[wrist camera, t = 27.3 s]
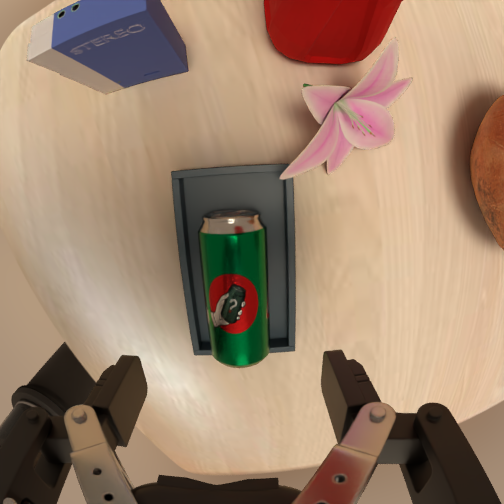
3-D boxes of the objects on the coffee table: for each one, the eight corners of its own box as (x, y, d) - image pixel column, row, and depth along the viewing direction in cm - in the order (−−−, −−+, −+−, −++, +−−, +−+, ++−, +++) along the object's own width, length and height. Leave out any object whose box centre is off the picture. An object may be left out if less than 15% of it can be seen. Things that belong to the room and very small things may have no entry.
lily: (249, 174, 25) (307, 232, 18) (235, 36, 18) (305, 26, 11) (359, 152, 28) (431, 194, 21) (362, 38, 21) (448, 50, 14)
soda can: (282, 357, 25) (280, 212, 21) (229, 379, 22) (215, 222, 19) (250, 333, 29) (243, 206, 25) (202, 349, 26) (186, 214, 23)
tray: (292, 339, 29) (295, 351, 27) (197, 343, 29) (194, 355, 27) (289, 163, 24) (292, 163, 22) (177, 171, 24) (170, 171, 22)
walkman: (185, 44, 21) (143, -29, 10) (188, 71, 22) (144, 7, 10) (103, 68, 21) (25, 25, 10) (104, 95, 22) (21, 61, 11)
